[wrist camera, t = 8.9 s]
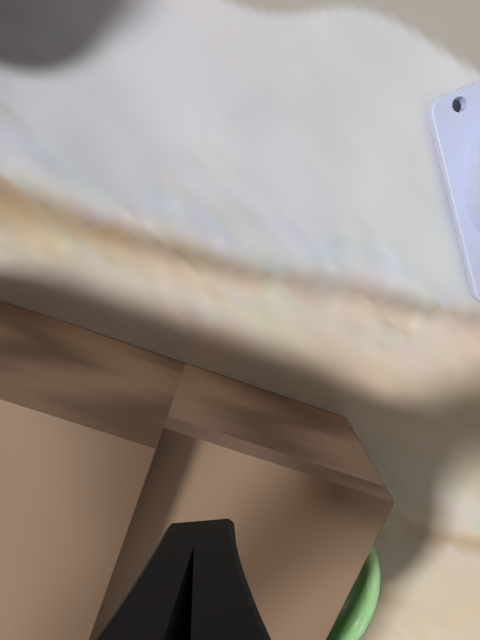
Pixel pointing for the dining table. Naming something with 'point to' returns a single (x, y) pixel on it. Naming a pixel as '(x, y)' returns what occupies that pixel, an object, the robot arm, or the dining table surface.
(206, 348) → the dining table surface
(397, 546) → the dining table surface
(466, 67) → the dining table surface
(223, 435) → the walnut shelf
